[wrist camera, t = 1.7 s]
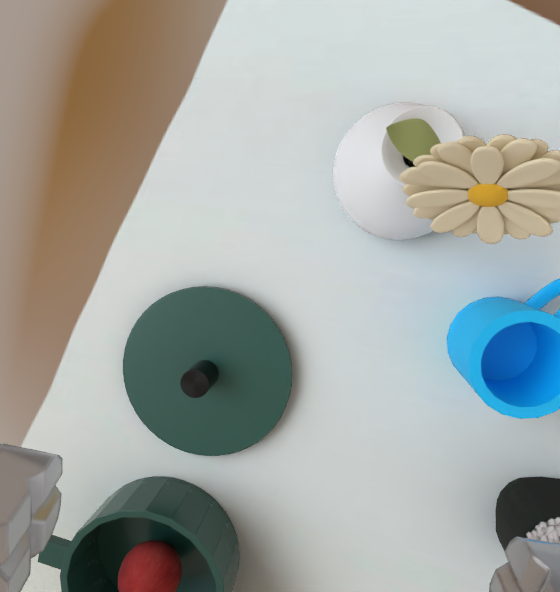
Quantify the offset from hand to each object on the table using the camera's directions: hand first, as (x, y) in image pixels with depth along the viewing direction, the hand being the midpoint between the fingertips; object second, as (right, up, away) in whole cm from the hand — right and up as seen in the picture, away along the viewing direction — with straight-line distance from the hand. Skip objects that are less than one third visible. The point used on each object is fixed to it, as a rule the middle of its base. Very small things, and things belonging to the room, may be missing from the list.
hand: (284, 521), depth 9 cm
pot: (-12, -22, +43) cm, 49 cm away
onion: (-12, -22, +42) cm, 49 cm away
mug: (+20, +1, +36) cm, 41 cm away
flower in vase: (+11, +14, +35) cm, 40 cm away
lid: (-7, -3, +39) cm, 40 cm away
